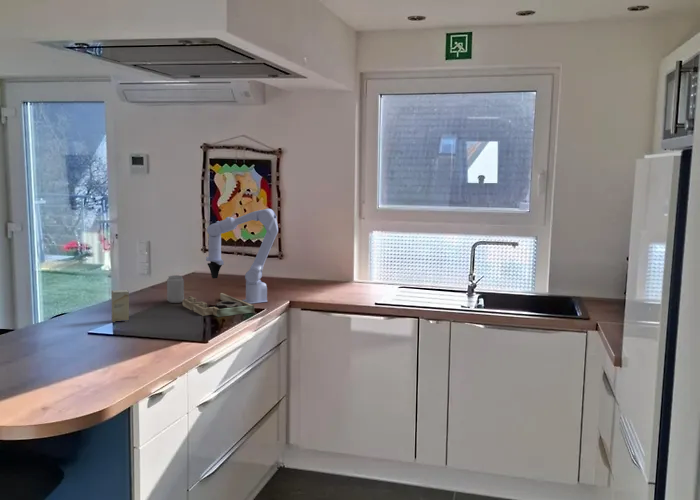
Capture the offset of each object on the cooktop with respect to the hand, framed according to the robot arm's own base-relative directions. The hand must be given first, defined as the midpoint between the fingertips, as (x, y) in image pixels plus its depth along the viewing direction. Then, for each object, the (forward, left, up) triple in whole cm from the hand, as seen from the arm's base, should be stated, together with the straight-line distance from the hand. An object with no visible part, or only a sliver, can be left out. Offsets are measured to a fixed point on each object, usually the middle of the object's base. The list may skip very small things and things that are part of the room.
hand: (214, 278), depth 294 cm
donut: (+5, +24, -11) cm, 27 cm away
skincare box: (+49, +18, -11) cm, 53 cm away
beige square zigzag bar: (+7, +16, -10) cm, 20 cm away
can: (+17, -5, -11) cm, 21 cm away
